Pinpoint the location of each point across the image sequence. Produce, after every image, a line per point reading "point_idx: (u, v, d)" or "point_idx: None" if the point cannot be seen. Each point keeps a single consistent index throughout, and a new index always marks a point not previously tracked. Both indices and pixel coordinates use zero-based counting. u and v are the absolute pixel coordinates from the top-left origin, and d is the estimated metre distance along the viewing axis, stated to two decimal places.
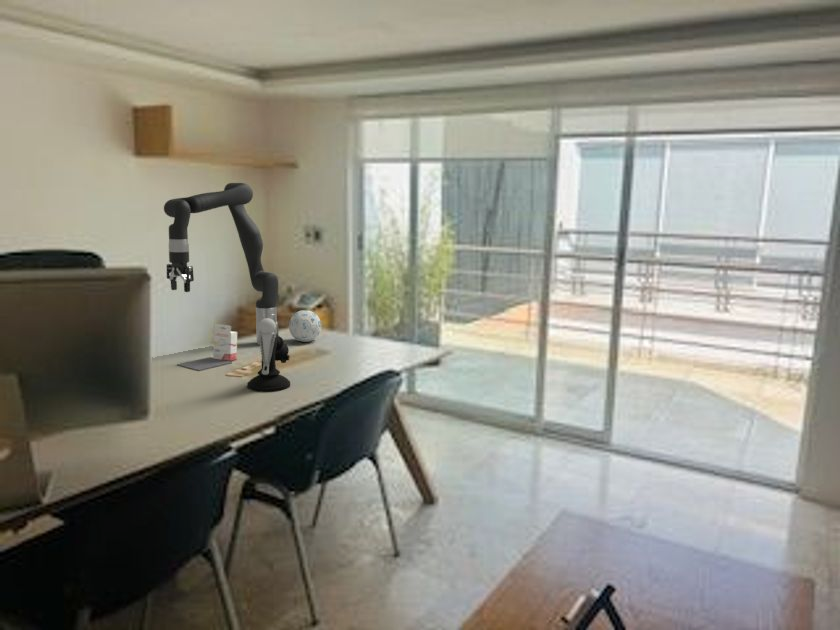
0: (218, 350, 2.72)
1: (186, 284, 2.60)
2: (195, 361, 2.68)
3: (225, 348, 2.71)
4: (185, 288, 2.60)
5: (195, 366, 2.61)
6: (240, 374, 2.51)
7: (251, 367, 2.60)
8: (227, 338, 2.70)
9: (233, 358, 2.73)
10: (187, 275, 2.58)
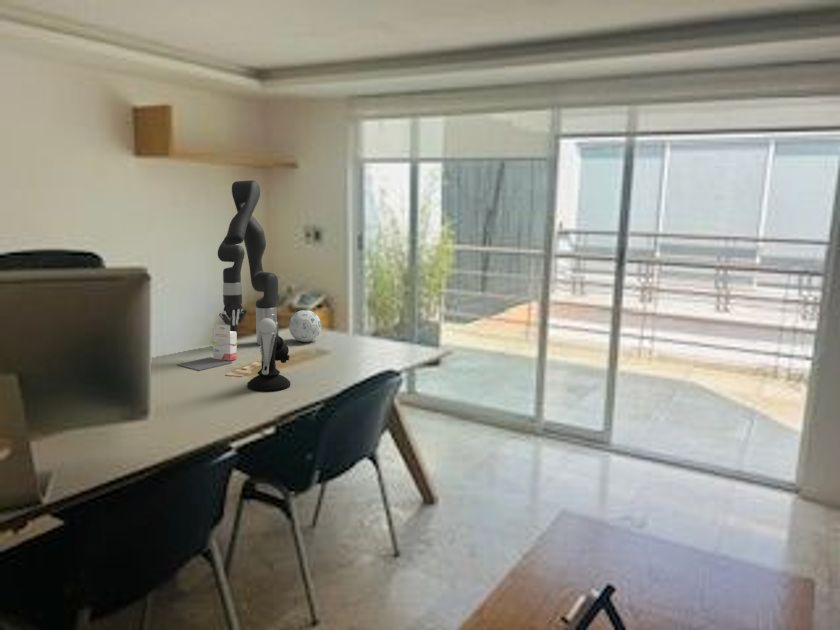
0: (218, 350, 2.72)
1: (236, 326, 2.76)
2: (195, 361, 2.68)
3: (225, 348, 2.71)
4: (236, 330, 2.76)
5: (195, 366, 2.61)
6: (240, 374, 2.51)
7: (251, 367, 2.60)
8: (226, 338, 2.70)
9: (233, 358, 2.72)
10: (242, 317, 2.78)
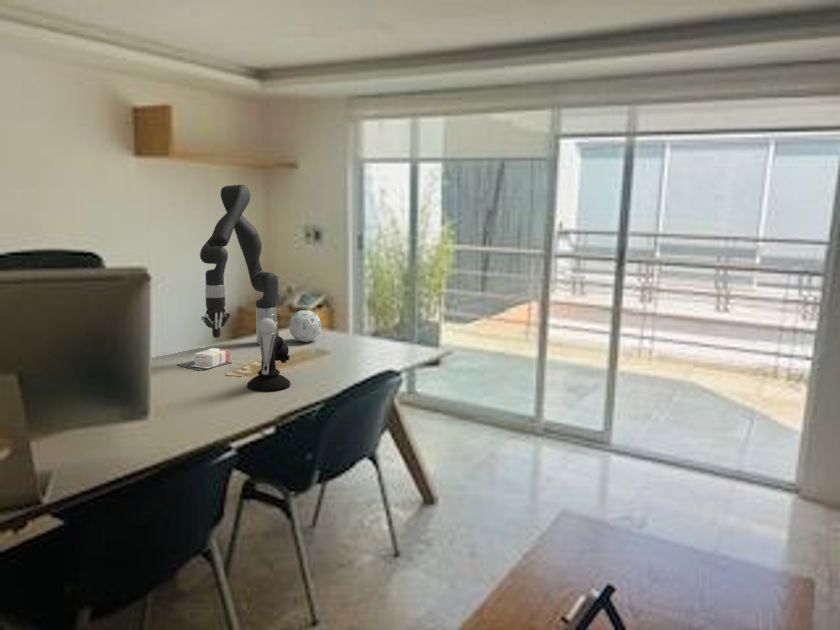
0: None
1: (219, 329, 2.69)
2: None
3: None
4: (219, 333, 2.69)
5: None
6: (240, 374, 2.51)
7: (251, 367, 2.60)
8: None
9: (228, 355, 2.69)
10: (225, 321, 2.71)
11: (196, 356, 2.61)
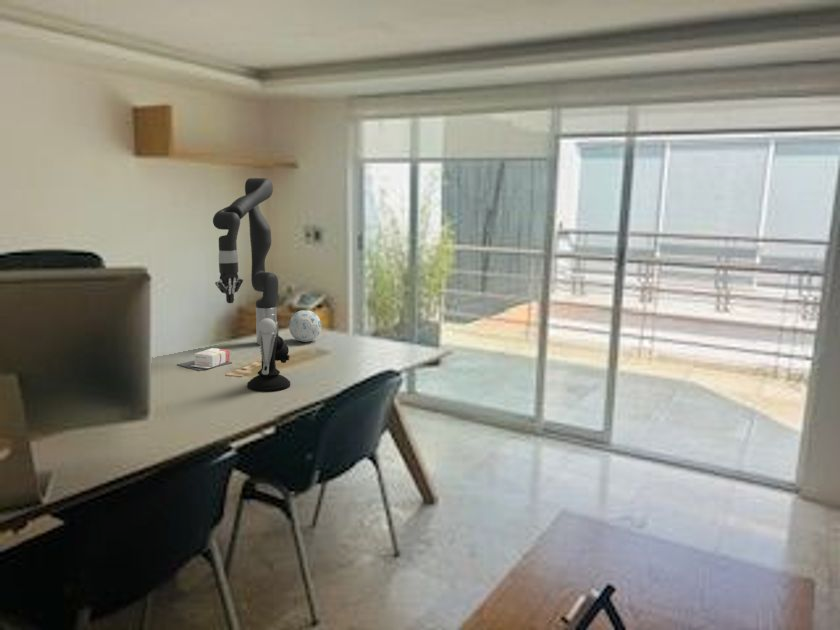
0: None
1: (233, 295, 2.73)
2: None
3: None
4: (232, 299, 2.72)
5: None
6: (240, 374, 2.51)
7: (251, 367, 2.60)
8: None
9: (228, 355, 2.69)
10: (238, 286, 2.74)
11: (196, 356, 2.61)
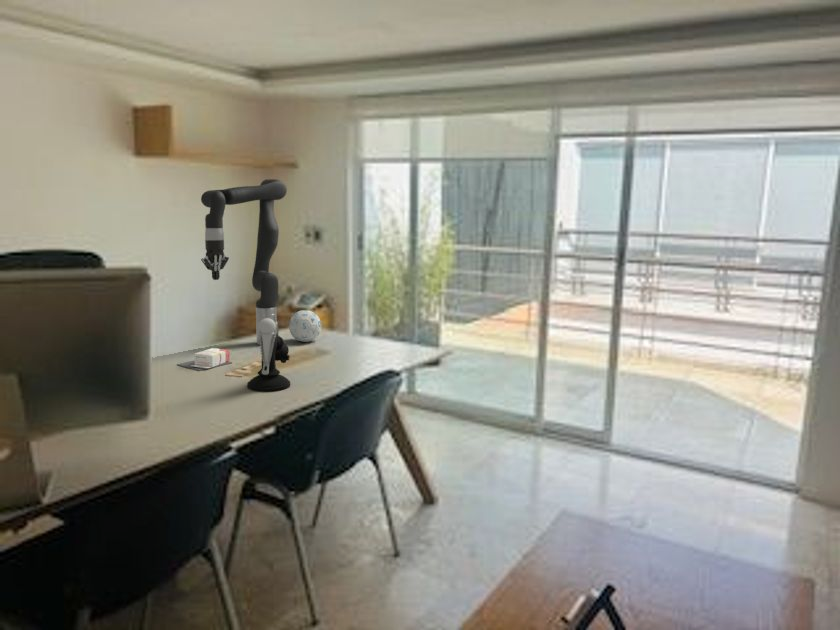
0: None
1: (218, 272, 2.80)
2: None
3: None
4: (218, 276, 2.80)
5: None
6: (240, 374, 2.51)
7: (251, 367, 2.60)
8: None
9: (228, 355, 2.69)
10: (224, 264, 2.81)
11: (196, 356, 2.61)
